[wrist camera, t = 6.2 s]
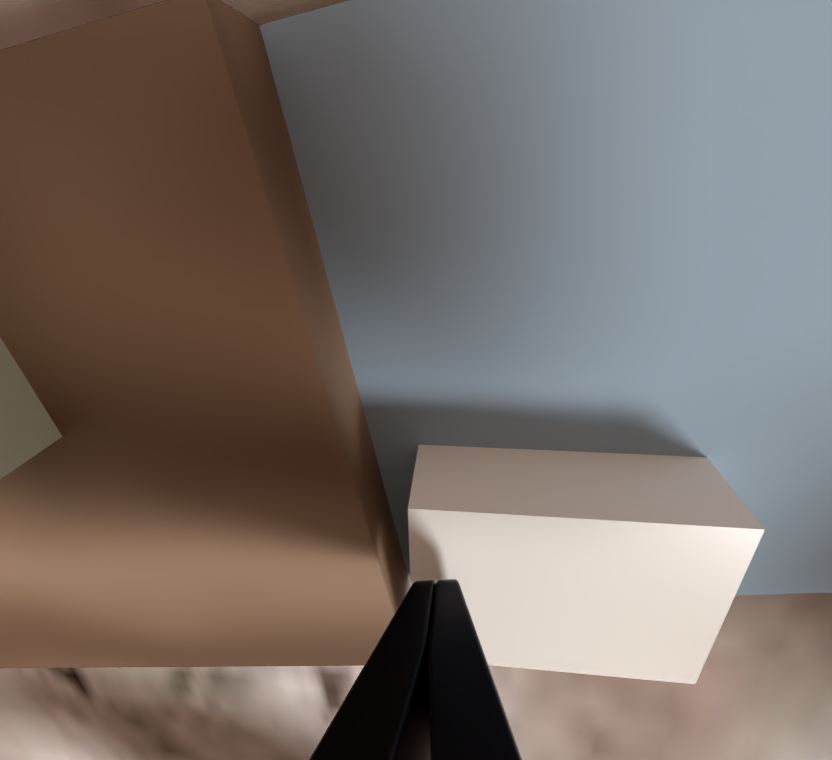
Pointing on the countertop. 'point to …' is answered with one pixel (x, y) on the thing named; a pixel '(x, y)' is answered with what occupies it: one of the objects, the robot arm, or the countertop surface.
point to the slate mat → (582, 236)
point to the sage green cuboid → (20, 417)
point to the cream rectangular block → (583, 555)
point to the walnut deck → (177, 365)
